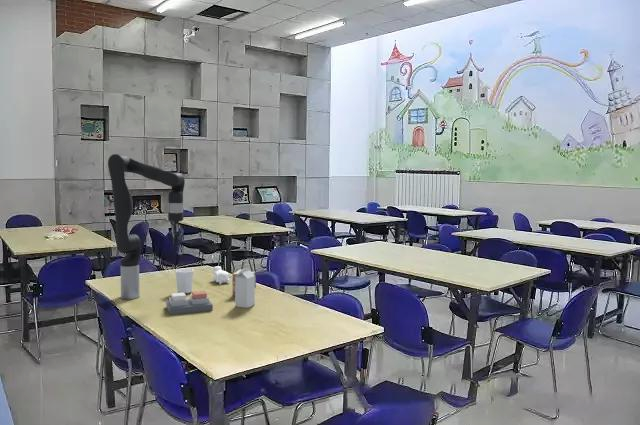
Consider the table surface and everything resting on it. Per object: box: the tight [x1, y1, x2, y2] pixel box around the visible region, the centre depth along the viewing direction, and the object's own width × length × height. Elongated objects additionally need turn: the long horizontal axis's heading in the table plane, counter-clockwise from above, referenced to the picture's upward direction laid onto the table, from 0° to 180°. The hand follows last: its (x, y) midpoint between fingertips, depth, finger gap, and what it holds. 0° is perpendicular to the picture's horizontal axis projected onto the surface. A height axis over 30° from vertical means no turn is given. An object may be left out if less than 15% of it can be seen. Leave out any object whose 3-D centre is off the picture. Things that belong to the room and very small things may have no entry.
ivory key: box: [170, 292, 187, 301], centre depth 254 cm, size 6×6×3 cm
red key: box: [191, 290, 208, 299], centre depth 258 cm, size 6×6×3 cm
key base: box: [165, 295, 214, 316], centre depth 256 cm, size 20×14×6 cm
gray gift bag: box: [232, 268, 257, 297], centre depth 292 cm, size 21×6×12 cm, turn 169°
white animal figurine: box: [211, 265, 230, 285], centre depth 314 cm, size 9×8×15 cm
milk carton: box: [234, 267, 256, 309], centre depth 262 cm, size 7×7×19 cm
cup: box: [174, 267, 195, 295], centre depth 286 cm, size 10×10×13 cm
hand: (175, 244), depth 271 cm, fingers closed
